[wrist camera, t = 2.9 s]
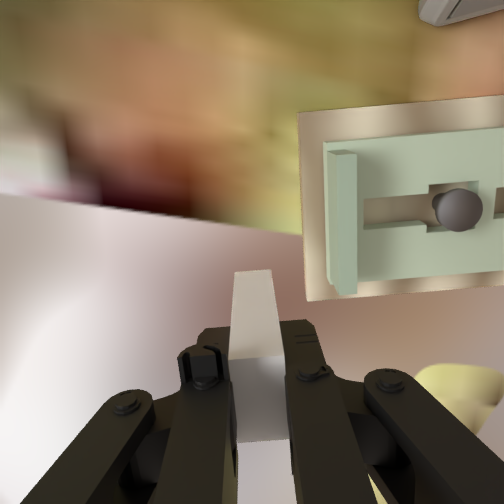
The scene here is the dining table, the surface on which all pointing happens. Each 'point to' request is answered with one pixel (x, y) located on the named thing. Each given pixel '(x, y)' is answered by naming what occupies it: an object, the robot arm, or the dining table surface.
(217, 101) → the dining table surface
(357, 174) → the panel
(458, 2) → the digital clock
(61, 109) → the dining table surface
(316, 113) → the board
